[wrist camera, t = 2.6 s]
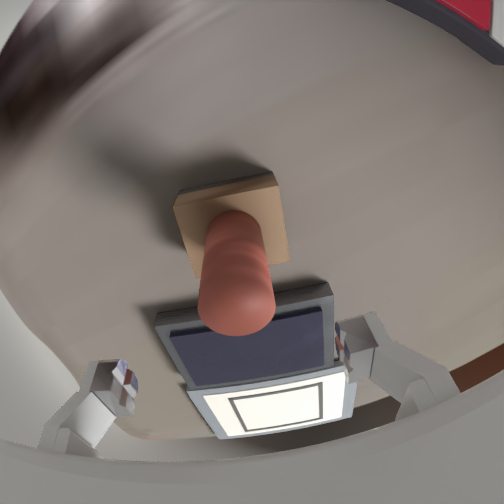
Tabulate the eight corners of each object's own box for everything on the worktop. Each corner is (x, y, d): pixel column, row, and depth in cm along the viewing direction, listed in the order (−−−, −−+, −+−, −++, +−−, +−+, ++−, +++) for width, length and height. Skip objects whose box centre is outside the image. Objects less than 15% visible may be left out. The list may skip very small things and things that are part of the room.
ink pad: (328, 282, 24) (334, 298, 22) (329, 353, 28) (334, 369, 27) (157, 313, 24) (153, 330, 22) (191, 376, 29) (189, 392, 27)
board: (357, 355, 29) (360, 362, 28) (350, 411, 36) (352, 417, 35) (186, 385, 30) (186, 393, 29) (219, 434, 36) (219, 440, 36)
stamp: (272, 171, 19) (303, 243, 11) (283, 239, 22) (312, 336, 14) (179, 190, 19) (146, 273, 11) (199, 255, 22) (186, 356, 14)
